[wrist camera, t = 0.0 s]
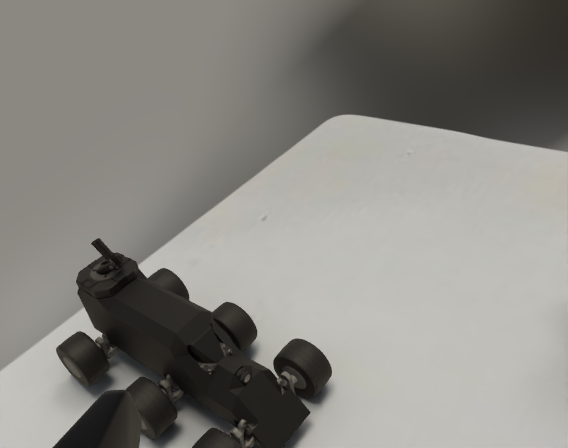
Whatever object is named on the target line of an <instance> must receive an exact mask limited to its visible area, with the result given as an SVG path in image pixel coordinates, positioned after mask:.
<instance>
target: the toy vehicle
mask: <svg viewBox="0 0 568 448" xmlns="http://www.w3.org/2000/svg"><path fill="white" fill-rule="evenodd" d="M91 244H92V245H93V246H94V247H95V248H96V249H97V250H98V251H99V252H100V253H101V254H102V257H100V258H99V259H97V260H95V261H94V262H92V263H91V264H89V265H88V266H87V267H86V268H84V269H83V270H81V271H80V272H79V274H78V277H77V280H76V283H77V285H78V287H79V289H78V295H79V297H80V299H81V301H82V303H83V305H84V307H85V309H86V311H87V313H88V315H89V317H90V319H91V321H92V324H93V326H94V328H95V329H97V330H98V331H100V332H101V333H103V334H102V338H100V337H98V338H97V339H96V340H95V342H96V343H95V342H94V341H93V340H92V339H91V338H90V337H89V336H88V335H86V334H85V333H83V332H81V331H79V332H77V333H75V334H74V335H72V336H71V337H69V338H68V339H67V340H65V341H64V342H63V343H62V344H61V345H59V346H58V347H57V349H56V351H57V354H58V356H59V358H60V360H61V361H62V363H63V364H64V366H65V367H66V368H67V369H68V371H69V372H70V373H71V374H72V375H73V376H74V377H75V378H76V379H77V380H78V381H79V382H80V383H82V384H83V385H85V386H90V385H91V384H92V383H94V382H95V381H96V380H97V379H99V378H100V377H101V376H102V375H103V374H104V373H105V372H107V371H108V370H109V368H110V365H109V362H108V360H107V359H110V358H111V356H112V355H114V354H115V353H117V352H118V351H119V349H120V350H122V351H123V352H125V353H126V354H128V355H129V356H131V357H132V358H134V359H135V360H137V361H138V362H140V363H141V364H143V365H144V366H146V367H147V368H149V369H150V370H152V371H153V372H155V373H156V374H158V375H159V376H161V377H162V378H164V379H165V380H166V381H165V380H161V381H160V382H159V384H158V385H159V386H158V385H156V384H155V383H154V382H153V381H151V380H150V379H148V378H146V377H140V378H139V379H137V380H136V381H135V382H134V383H133V384H131V385H130V386H129V387H128V388H127V389H126V391H128V392H129V393H130V395H131V397H132V399H133V401H134V403H135V405H136V407H137V409H138V411H139V413H140V416H141V421H142V428H141V432H142V433H144V434H145V435H146V436H148V437H149V438H152V439H156V438H157V437H158V436H160V435H161V434H162V433H163V432H164V431H165V430H166V429H167V428H168V427H169V426H170V425H171V424H172V422H173V421H174V420H175V419H176V418H177V411H176V409H175V407H174V405H173V403H174V402H175V400H177V399H179V398H180V397H181V396H182V395H183V394H184V392H185V393H186V394H188V395H189V396H191V397H192V398H194V399H195V400H197V401H198V402H200V403H201V404H203V405H204V406H206V407H207V408H209V409H210V410H212V411H213V412H215V413H216V414H218V415H219V416H221V417H222V418H224V419H225V420H227V421H228V422H230V423H231V424H233V425H234V426H237V425H238V429H237V428H233V429H232V430H231V431H230V435H231V437H230V436H228V435H227V434H226V433H224V432H222V431H221V430H218V429H215V428H211V429H209V430H208V431H207V432H206V433H205V434H204V435H203V436H202V437H201V438H200V439H199V440H198V441H197V442H196V443H195V445H194V446H193V447H192V448H252V446H253V445H254V444H256V446H257V447H259V448H283V447H284V445H285V444H286V443H287V441H288V440H289V439H290V438H291V436H292V435H293V434H294V433H295V431H296V430H297V429H298V428H299V426H300V425H301V424H302V423H303V421H304V420H305V419H306V417H307V416H308V415H309V414H310V411H309V410H308V409H307V407H306V406H305V405H304V404H303V403H302V402H301V400H300V399H299V398H298V397H297V396H296V395H295V393H296V394H298V395H300V396H302V397H305V398H313V397H314V396H316V395H317V394H318V392H319V391H320V390H321V389H322V388H323V387H324V385H325V384H326V383H327V381H328V380H329V378H330V377H331V374H332V369H331V366H330V363H329V361H328V360H327V358H326V357H325V355H324V354H323V353H322V352H321V351H320V350H319V349H318V348H317V347H315V346H314V345H313V344H311V343H309V342H307V341H305V340H303V339H293V340H291V341H290V342H289V343H288V344H287V345H286V346H285V347H284V348H283V349H282V350H281V351H280V353H279V354H278V355H277V356H276V357H275V359H274V362H273V364H274V369H275V371H276V373H277V375H278V377H279V378H278V379H277V378H276V377H275V375H274V374H273V373H272V372H271V371H270V370H269V369H267V368H265V367H264V366H262V365H260V364H258V363H256V362H255V361H253V360H251V359H249V358H247V357H246V356H244V355H243V354H242V352H243V351H244V350H245V349H246V348H247V347H248V346H249V345H250V344H251V343H252V342H253V341H254V340H255V339H256V337H257V329H256V326H255V324H254V322H253V321H252V319H251V318H250V316H249V315H248V314H247V313H246V312H245V311H244V310H243V309H242V308H240V307H239V306H237V305H236V304H234V303H230V302H225V303H223V304H222V305H220V306H219V307H218V308H217V309H216V310H214V311H213V312H210V311H208V310H206V309H204V308H202V307H200V306H198V305H197V304H195V303H193V302H191V301H189V293H188V291H187V289H186V287H185V285H184V284H183V282H182V281H181V280H180V278H179V277H178V276H177V275H176V274H174V273H173V272H172V271H170V270H168V269H165V268H162V269H160V270H158V271H157V272H155V273H154V274H152V275H151V276H150V277H149V278H146V277H145V275H144V274H143V273H142V272H141V271H140V270H139V269H138V265H137V263H136V261H133V260H132V259H130V258H127V257H125V256H124V255H122V254H119V253H113V252H111V251H110V250H109V248H108V247H107V246H106V245H105V244H104V243H103V242H102V241H101V240H100V238H99V239H96V240H95V241H93V242H92V243H91ZM109 347H112V348H113V349H110V348H109ZM172 389H174V390H175V391H177V392H176V393H175V392H174V391H172ZM244 437H245V438H247V439H248V440H249V442H248V441H246V440H245V439H244Z"/></svg>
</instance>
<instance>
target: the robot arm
mask: <svg viewBox="0 0 568 448" xmlns="http://www.w3.org/2000/svg"><path fill="white" fill-rule="evenodd" d="M141 428H142V421H141V416H140V413H139V411H138V409H137V407H136V405H135V403H134V401H133V399H132V397H131V395H130V393H129V392H128V391H126V390H111V391H107V392H105V393H103V394H102V395H101V396H100V397H99V398H98V399H97V400H96V402H95V403H94V404H93V405H92V406H91V407H90V408H89V409H88V410H87V411H86V412H85V413H84V414H83V416H82V417H81V418H80V419H79V420H78V421H77V422H76V423H75V424H74V425H73V426H72V427H71V429H70V430H69V431H68V432H67V433H66V434H65V435H64V436H63V437H62V438H61V439H60V440H59V441H58V443H57V444H56V445H55V446H54V447H53V448H139V441H140V435H141Z"/></svg>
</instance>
